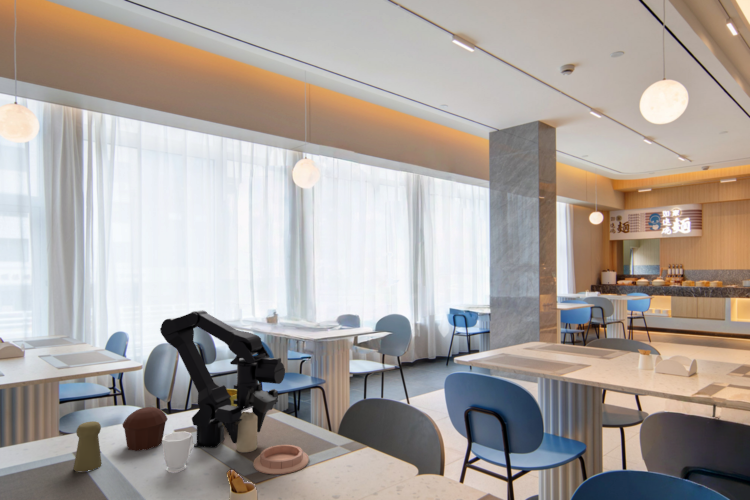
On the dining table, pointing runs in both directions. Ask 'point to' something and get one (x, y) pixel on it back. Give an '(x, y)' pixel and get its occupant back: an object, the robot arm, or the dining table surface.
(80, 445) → the cork
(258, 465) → the candle dish
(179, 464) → the cup
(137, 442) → the muffin
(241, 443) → the candle
